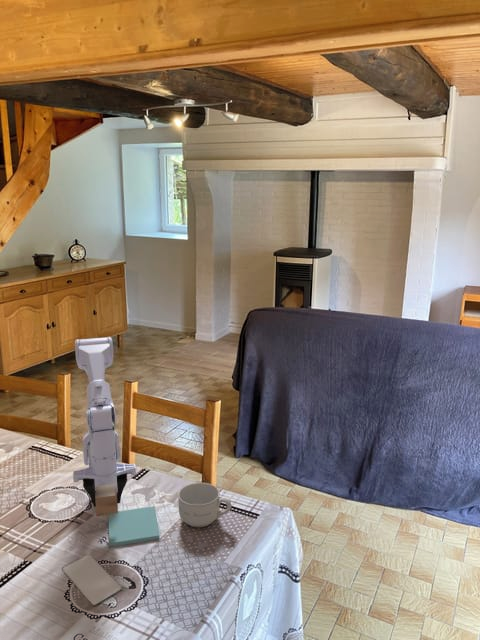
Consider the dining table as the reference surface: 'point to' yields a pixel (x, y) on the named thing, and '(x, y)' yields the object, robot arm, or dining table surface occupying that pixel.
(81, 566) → the smartphone
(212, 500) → the teacup
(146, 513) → the teal square plate
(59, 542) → the dining table surface
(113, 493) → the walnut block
